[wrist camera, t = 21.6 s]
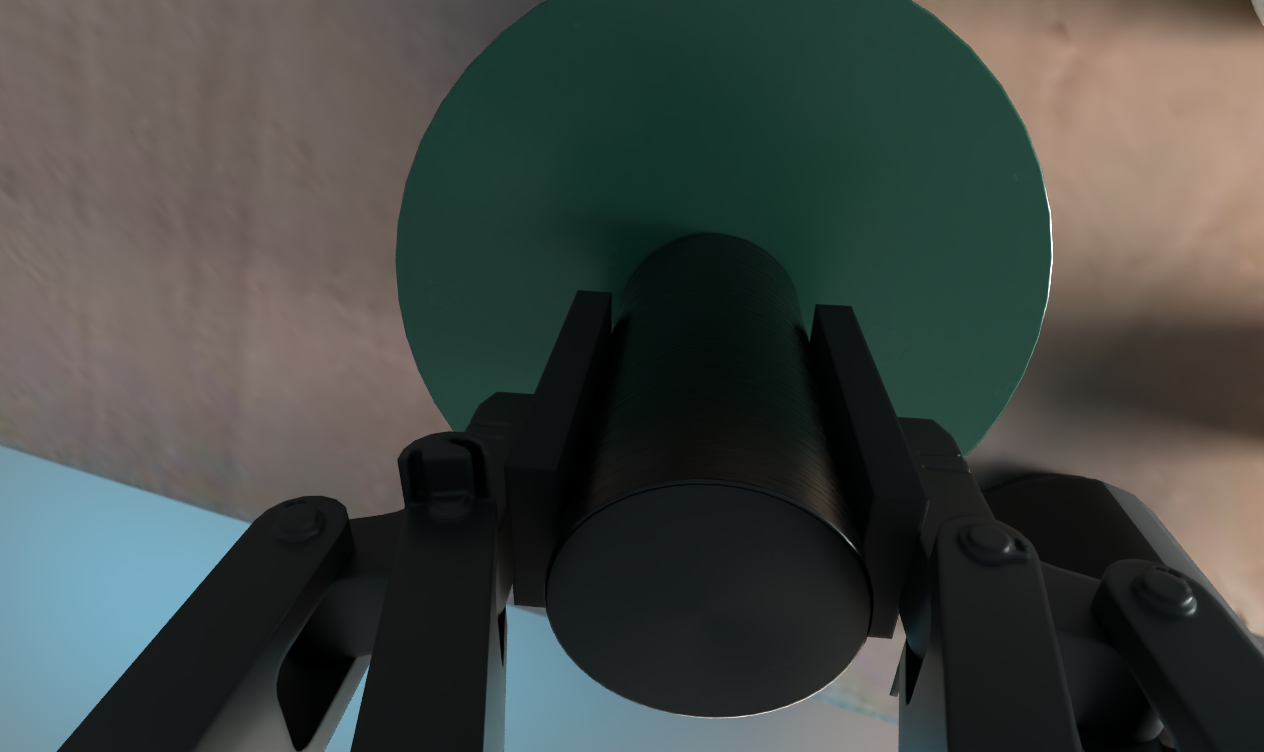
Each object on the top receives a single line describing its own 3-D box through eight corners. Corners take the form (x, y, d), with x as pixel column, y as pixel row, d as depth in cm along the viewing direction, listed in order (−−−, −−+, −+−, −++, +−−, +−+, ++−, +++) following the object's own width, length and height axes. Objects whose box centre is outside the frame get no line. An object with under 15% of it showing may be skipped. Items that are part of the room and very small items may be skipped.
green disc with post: (444, 512, 24) (269, 867, 14) (369, -59, 16) (-122, -100, 7) (948, 553, 22) (1117, 968, 13) (1132, -42, 15) (1864, -62, 5)
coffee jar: (894, 595, 40) (1012, 1001, 24) (982, 439, 35) (1206, 829, 19) (1081, 639, 40) (1317, 1069, 25) (1197, 491, 35) (1592, 918, 19)
